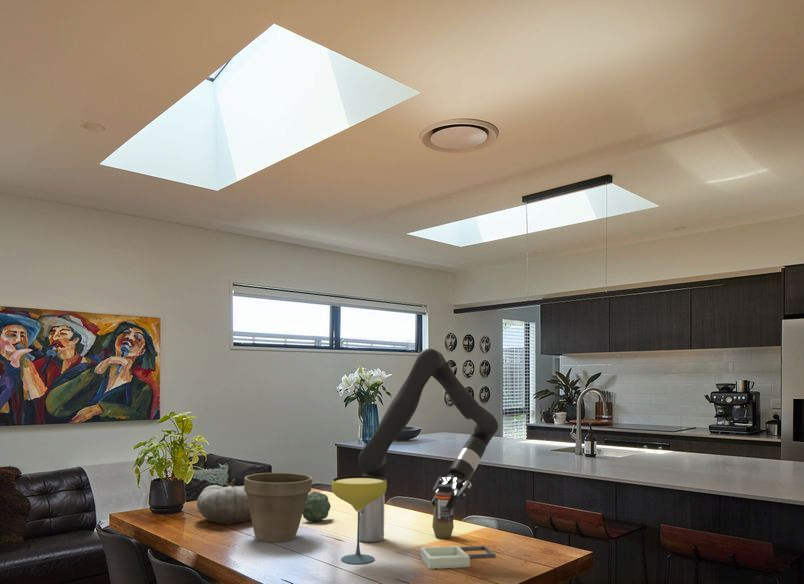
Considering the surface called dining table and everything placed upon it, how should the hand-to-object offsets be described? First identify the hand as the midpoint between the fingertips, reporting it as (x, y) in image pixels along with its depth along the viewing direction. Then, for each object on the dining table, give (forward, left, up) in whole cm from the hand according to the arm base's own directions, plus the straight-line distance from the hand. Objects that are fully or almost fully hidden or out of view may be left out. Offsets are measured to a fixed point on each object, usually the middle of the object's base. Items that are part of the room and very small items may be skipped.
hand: (440, 506), depth 199 cm
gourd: (-72, +71, -18) cm, 102 cm away
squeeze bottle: (+9, +33, -18) cm, 38 cm away
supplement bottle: (+1, +1, -5) cm, 5 cm away
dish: (+1, +1, -17) cm, 17 cm away
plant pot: (-52, +41, -18) cm, 68 cm away
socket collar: (+14, +9, -17) cm, 24 cm away
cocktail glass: (-26, +8, -18) cm, 32 cm away
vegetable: (-37, +68, -18) cm, 80 cm away
